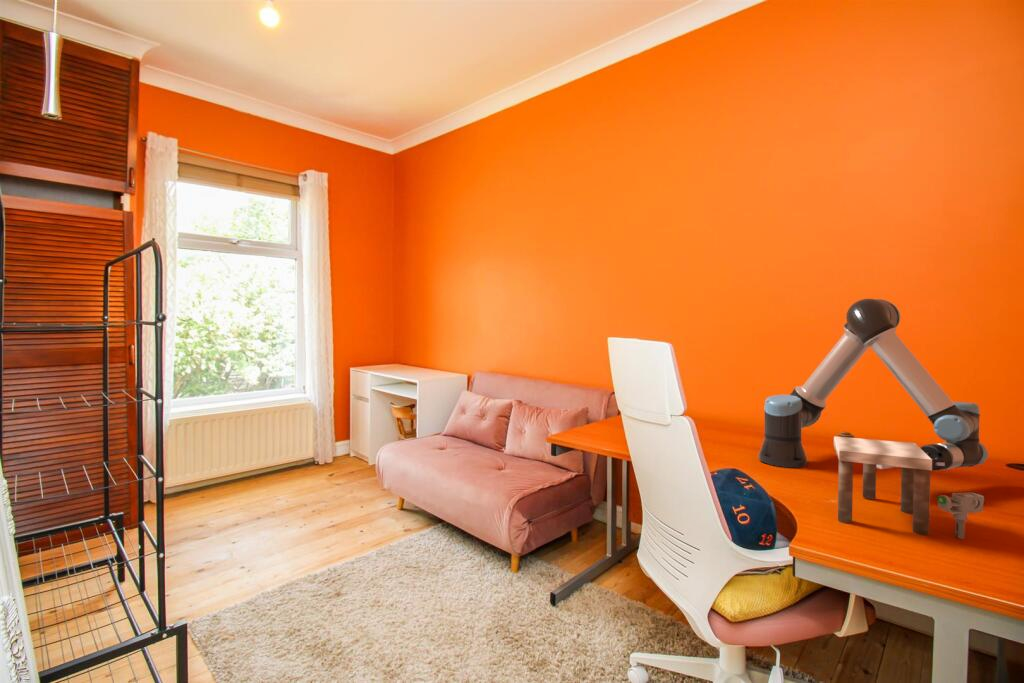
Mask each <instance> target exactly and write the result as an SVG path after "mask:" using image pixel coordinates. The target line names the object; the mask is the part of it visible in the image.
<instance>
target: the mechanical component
mask: <svg viewBox="0 0 1024 683" xmlns="http://www.w3.org/2000/svg"><path fill="white" fill-rule="evenodd" d="M936 500H937V506H938V509H939V510H941V511H944V512H947V513H950V514H952V518H954V519H955V527H954V528H955V530H954V531H955V532H954V535H955V537H956V538H958V539H960V540H965V531H966V530H965V529H966V528H965V527H966V526H965V525H966V524H965V522H966V521H968V520H969V518H968V514H980V513H981V512H983V510H984V504H985V496H983V495H982V494H978V493H975V492H952V493H951V496H950V497H949V496H948V495H946V494H945V495H944V494H943V495H942V494H941V495H939V496H937V499H936Z"/></svg>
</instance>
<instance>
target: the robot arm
mask: <svg viewBox="0 0 1024 683" xmlns="http://www.w3.org/2000/svg"><path fill="white" fill-rule="evenodd" d="M845 316H846V318H845V319H846V323H845V324H844V325H843V331H844V333H843V334H842V335H841V337H840V338H839V340H838V341H837V342H836V343H835V345H834V346H833V347H832V348H831V350H830V351H829V352H828V353H827V354H826V356H825V357H824V358H823V360H821V362H820V363H819V365H817V367H816V368H815V370H814V371H813V372H812V373H811V374H810V376H809V377H808V378H807V379H806V381H805V382H804V384H802V385H798V386H795V387H794V388H793V390H792V391H791V392H790V394H777V395H776V394H774V395H771V396H768V397H766V399H765V400H764V406H763V408H764V438H763V442H762V444H761V447H760V449H759V452H758V460H759V461H760V462H761V461H762V463H763V462H764V464H766V463H767V464H766V465H769V464H770V466H774V465H775V467H780V466H782V467H781V468H802V467H803V466H804V467H806V466H807V464H808V459H807V455H806V453H805V448H804V446H803V443H802V429H803V428H809V427H811V426H813V425H814V424H815V423H817V422H818V420H819V419H821V415H822V412H823V410H825V408H826V407H827V401H826V399H828V398H829V396H830V395H831V393H832V392H833V391H834V390H835V389H836V388H837V387H838V385H839V384H840V383H842V382H841V381H842V380H843V379H844V378H845V377H846V376H847V374H849V372H850V371H851V370H852V368H853V367H854V366H855V365H856V364H857V362H858V361H859V360H860V359H861V358H862V357H863V355H864V354H865V353H866V352H867V351H868V350H869V348H871V349H872V351H873V352H874V353H875V355H877V357H878V358H879V359H880V360H881V361H882V363H883V364H884V366H886V368H887V369H888V371H890V373H891V374H892V376H894V378H895V379H896V380H897V382H898V383H899V385H901V386H902V388H904V390H905V391H906V393H907V394H908V395H909V396H910V397H911V399H912V400H913V402H915V404H916V405H917V406H918V407H919V409H920V410H921V411H922V413H924V415H925V416H926V417H927V419H928V420H929V421H930V422H931V424H932V425H933V430H934V433H935V434H936V435H937V437H938V438H940V440H941V439H942V440H943V441H945V442H939V443H931V444H925V445H921V446H920V448H921V449H922V450H923V451H924V452H925V453H926V454H927V455H928V456H929V457H930V458H931V459H932V470H931V471H942V470H945V471H949V469H959V468H966V467H967V468H971V467H975V466H979V465H981V464H983V463H985V462H986V461H987V459H988V457H989V452H988V450H987V448H986V447H985V445H984V444H983V443H981V442H980V441H981V440H980V417H981V413H980V407H979V406H980V405H979V404H976V403H974V402H967V401H953V400H952V399H951V398H950V397H949V395H948V394H947V393H946V392H945V390H944V389H943V388H942V387H941V385H940V384H938V382H937V380H936V379H935V378H934V377H933V376H932V375H931V374H930V373H929V372H928V369H927V368H925V367H924V366H923V364H922V363H921V362H920V360H918V358H917V357H916V356H915V354H914V353H913V352H911V349H909V348H908V346H907V345H906V344H905V343H904V342H903V340H901V338H900V337H899V335H897V333H896V332H897V327H898V326H899V324H900V322H901V313H900V310H899V309H898V307H897V306H896V305H895V304H894V303H892V302H891V301H888V300H886V299H882V298H862V299H860V300H857V301H855V302H854V303H853V304H851V306H850V307H849V308H848V310H847V311H846V315H845ZM804 467H803V468H804ZM893 468H896V467H895V466H886V465H876V469H880V470H884V469H893Z"/></svg>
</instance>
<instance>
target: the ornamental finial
mask: <svg viewBox="0 0 1024 683" xmlns="http://www.w3.org/2000/svg"><path fill="white" fill-rule="evenodd" d="M836 437H848V438H856V437H855V435H853V433H851V432H850V431H845V430H843V431H841V432H839V433H838V434H837V435H836ZM833 449H834V452H835V451H836V450H835V447H834V446H833Z"/></svg>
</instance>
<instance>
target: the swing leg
mask: <svg viewBox="0 0 1024 683" xmlns="http://www.w3.org/2000/svg"><path fill="white" fill-rule="evenodd" d="M862 465H863V467H862V497H863V498H865V499H869V500H876V498H877V497H876V495H877V494H876V493H877V490H876V489H877V488H876V487H877V465H876V464H867V463H862Z"/></svg>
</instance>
